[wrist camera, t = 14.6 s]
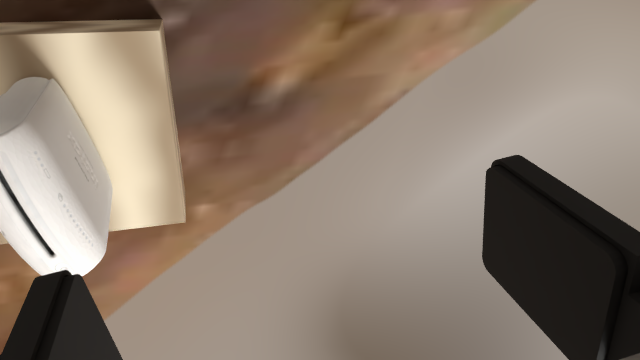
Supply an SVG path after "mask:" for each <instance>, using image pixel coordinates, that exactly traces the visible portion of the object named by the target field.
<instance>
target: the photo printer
mask: <svg viewBox="0 0 640 360" xmlns="http://www.w3.org/2000/svg"><path fill="white" fill-rule="evenodd" d="M112 194H113V188H112V183H111V180H110V177H109V174H108V172H107V170H106V167H105V165H104V163H103V161H102V159H101V157H100V155H99V153H98V151H97V149H96V147H95V146H94V144H93V142H92V140H91V138H90V136H89V134H88V132H87V131H86V129H85V127H84V125H83V123H82V122H81V120H80V118H79V116H78V115H77V113H76V111H75V109H74V108H73V106H72V104H71V102H70V101H69V99H68V98H67V96H66V94H65V93H64V91H63V90H62V88H61V87H60V86H59V84H58V83H57V82H56V81H55V80H54V79H50V80H48V79H46V78H42V77H28V78H24V79H21V80H19V81H17V82H16V83H14V84H13V85H12V86H11V88H10V89H9V90H8V91H7V92H6V93H4V94H2V95H0V232H1V233H2V235H3V236H4V237H5V239H6V240H7V241H8V242H9V244H10V245H11V246H12V247H13V248H14V249H15V251H16V252H17V253H18V254H19V255H20V256H21V257H22V258H23V259H24V260H25V261H26V262H27V263H28V264H29V265H30V266H31V267H32V268H33V269H34V270H35V271H36V272H38V273H39V274H40V275H42V276H43V275H46V274H50V273H54V272H58V271H62V270H68V271H69V272H70V273H71V274H72V275H74V274H80V275H81V276H84V275H85V274H87V273H88V272H89V271H91V270H92V269H93V268H94V267H95V266H96V265H97V264H98V263H99V262H100V261H101V259H102V258H103V256H104V254H105V252H106V246H107V239H108V231H109V222H110V213H111V203H112Z"/></svg>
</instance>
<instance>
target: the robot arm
mask: <svg viewBox="0 0 640 360" xmlns="http://www.w3.org/2000/svg"><path fill="white" fill-rule="evenodd" d="M485 184H486V185H485V207H484V230H483V252H482V258H483V263H484V265H485V267H486V269H487V270H488V272H489V273H490V274H491V275H492V276H493V277H494V278H495V279H496V281H497V282H498V283H499V284H500V285H501V286H502V287H503V288H504V289H505V290H506V292H507V293H508V294H509V295H510V296H511V297H512V298H513V299H514V300H515V301H516V302H517V303H518V305H519V306H520V307H521V308H522V309H523V310H524V311H525V312H526V313H527V314H528V315H529V317H530V318H531V319H532V320H533V321H534V322H535V323H536V324H537V325H538V326H539V327H540V329H541V330H542V331H543V332H544V333H545V334H546V335H547V336H548V337H549V338H550V339H551V341H552V342H553V343H554V344H555V345H556V346H557V347H558V348H559V349H560V350H561V352H562V353H563V354H564V355H565V356H566V357H567V358H568V359H569V360H640V232H639V231H637V230H636V229H634V228H633V227H631V226H629V225H628V224H626V223H625V222H623V221H621V220H620V219H618V218H617V217H615V216H614V215H612V214H611V213H609V212H608V211H606V210H605V209H603V208H602V207H600V206H598V205H597V204H595V203H594V202H592V201H591V200H589V199H588V198H586V197H584V196H583V195H581V194H580V193H578V192H577V191H575V190H574V189H572V188H570V187H569V186H567V185H566V184H564V183H563V182H561V181H560V180H558V179H556V178H555V177H553V176H552V175H550V174H549V173H547V172H546V171H544V170H542V169H541V168H539V167H538V166H536V165H535V164H533V163H531V162H530V161H528V160H527V159H525V158H524V157H522V156H520V155H514V156H510V157H506V158H502V159H498V160H495V161H494V162H493V163H492V165H491V168H489V169H488V170H487V171H486V183H485ZM0 360H123V359H122V357H121V355H120V353H119V351H118V349H117V347H116V345H115V343H114V341H113V339H112V337H111V335H110V333H109V331H108V329H107V327H106V325H105V323H104V321H103V319H102V316H101V314H100V312H99V310H98V308H97V306H96V304H95V302H94V300H93V298H92V296H91V294H90V292H89V290H88V288H87V286H86V284H85V282H84V280H83V278H82V277H81V275H80V274H74V275H72V274H71V273H70V272H69V271H68V270H62V271H58V272H54V273H50V274H46V275H43V276H39V277H36V278H35V279H34V281H33V283H32V285H31V288H30V290H29V292H28V294H27V297H26V299H25V301H24V304H23V306H22V308H21V311H20V313H19V315H18V317H17V320H16V322H15V324H14V327H13V329H12V331H11V334H10V336H9V338H8V341H7V343H6V345H5V347H4V350H3V352H2V354H1V355H0Z"/></svg>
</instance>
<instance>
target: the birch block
mask: <svg viewBox="0 0 640 360" xmlns="http://www.w3.org/2000/svg"><path fill="white" fill-rule="evenodd" d="M28 77H42V78H46V79H48V80H50V79H54V80H55V81H56V82H57V83H58V84H59V86H60V87H61V88H62V90H63V91H64V93H65V94H66V96H67V98H68V99H69V101H70V102H71V104H72V106H73V108H74V109H75V111H76V113H77V115H78V116H79V118H80V120H81V122H82V123H83V125H84V127H85V129H86V131H87V132H88V134H89V136H90V138H91V140H92V142H93V144H94V146H95V147H96V149H97V151H98V153H99V155H100V157H101V159H102V161H103V163H104V165H105V167H106V170H107V172H108V174H109V177H110V180H111V183H112V188H113V194H112V203H111V213H110V222H109V231H116V230H125V229H133V228H142V227H150V226H158V225H167V224H175V223H184V222H185V188H184V181H183V173H182V165H181V158H180V150H179V143H178V135H177V127H176V120H175V112H174V105H173V97H172V90H171V82H170V74H169V67H168V59H167V52H166V44H165V37H164V29H163V21H162V19H143V20H98V21H52V22H7V23H0V95H2V94H4V93H6V92H7V91H8V90H9V89H10V88H11V86H12V85H13V84H14V83H16V82H17V81H19V80H21V79H24V78H28ZM7 243H9V242H8V241H7V240H6V239H5V237H4V236H3V235H2V233H1V232H0V244H7Z"/></svg>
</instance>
